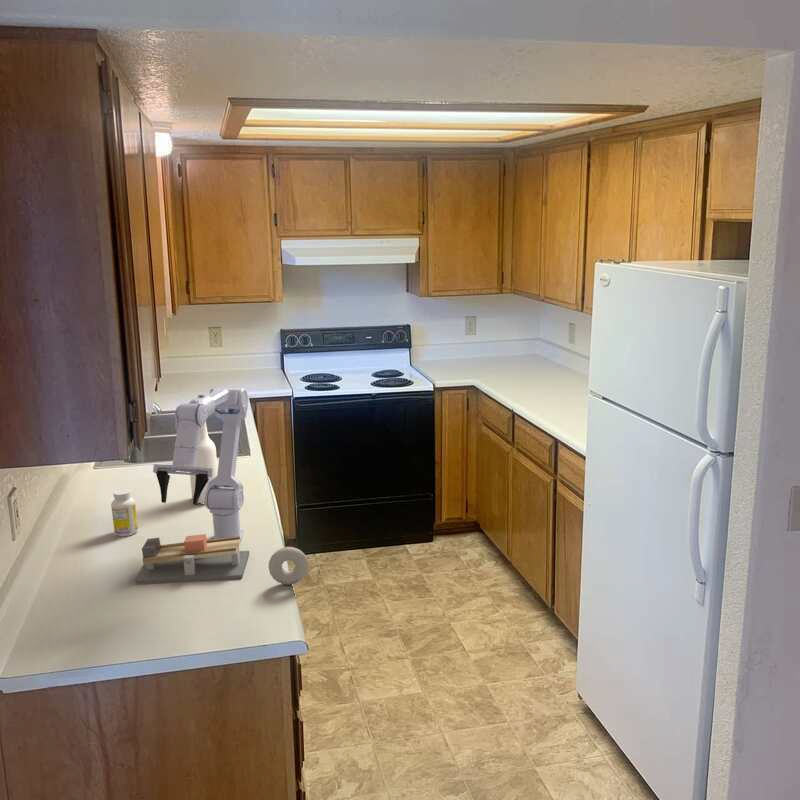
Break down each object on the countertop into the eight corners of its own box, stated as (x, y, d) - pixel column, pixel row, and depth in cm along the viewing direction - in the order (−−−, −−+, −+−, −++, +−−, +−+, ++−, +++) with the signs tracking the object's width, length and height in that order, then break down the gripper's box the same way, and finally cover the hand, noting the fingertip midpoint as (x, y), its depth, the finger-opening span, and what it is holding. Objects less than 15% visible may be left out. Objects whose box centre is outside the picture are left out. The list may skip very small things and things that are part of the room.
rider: (188, 546, 212) (186, 536, 211) (207, 544, 212) (205, 534, 211) (185, 552, 208) (183, 542, 207) (204, 550, 208) (202, 540, 208)
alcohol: (225, 497, 263) (218, 409, 256) (208, 506, 256) (200, 415, 249) (204, 493, 267) (196, 406, 260) (186, 502, 260) (178, 413, 253)
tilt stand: (149, 558, 218) (147, 539, 217) (249, 553, 219) (247, 534, 218) (135, 583, 203) (132, 562, 202) (242, 578, 205) (240, 557, 203)
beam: (151, 551, 214) (148, 537, 213) (240, 541, 215) (238, 527, 214) (143, 564, 206) (140, 550, 205) (236, 553, 207) (234, 539, 206)
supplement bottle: (130, 526, 241) (125, 486, 238) (142, 531, 237) (138, 490, 234) (110, 533, 236) (105, 492, 233) (122, 539, 232) (117, 497, 229)
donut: (269, 588, 199) (266, 551, 196) (270, 582, 202) (267, 545, 200) (309, 585, 200) (307, 548, 198) (309, 579, 203) (307, 543, 201)
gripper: (153, 444, 197) (145, 499, 194) (212, 448, 198) (206, 503, 194) (159, 449, 204) (152, 502, 200) (216, 454, 205) (210, 506, 201)
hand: (179, 503), depth 198 cm, fingers open, 7 cm apart
